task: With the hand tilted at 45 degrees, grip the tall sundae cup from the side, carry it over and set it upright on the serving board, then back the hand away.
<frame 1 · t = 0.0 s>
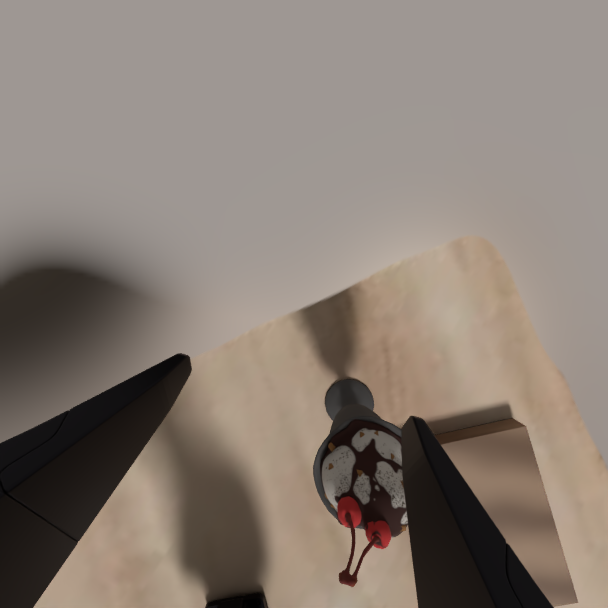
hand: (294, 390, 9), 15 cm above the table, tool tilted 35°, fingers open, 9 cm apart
sundae: (348, 402, 24), on the table
board: (473, 511, 23), on the table
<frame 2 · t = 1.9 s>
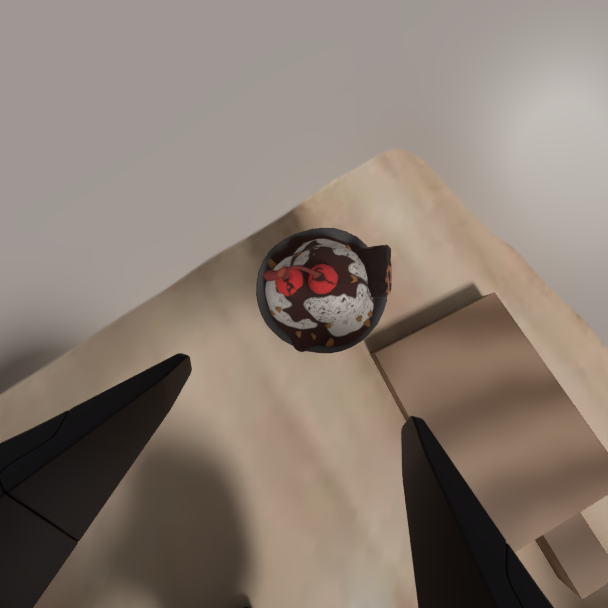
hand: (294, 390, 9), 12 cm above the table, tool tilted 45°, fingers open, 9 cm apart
sundae: (315, 319, 22), on the table
board: (479, 408, 19), on the table
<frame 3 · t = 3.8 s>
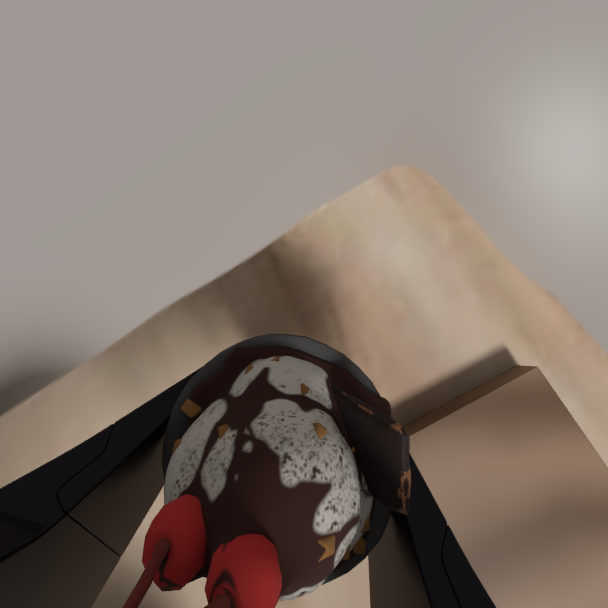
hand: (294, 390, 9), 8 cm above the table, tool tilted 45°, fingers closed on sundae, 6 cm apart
sundae: (296, 394, 16), on the table, touching gripper
board: (517, 529, 14), on the table
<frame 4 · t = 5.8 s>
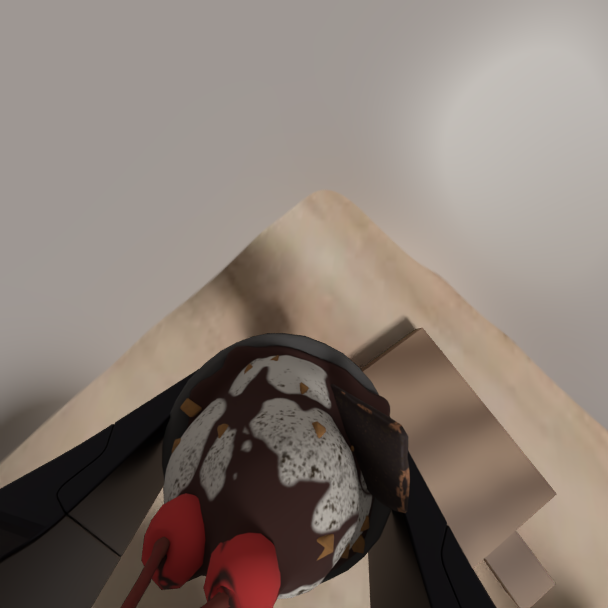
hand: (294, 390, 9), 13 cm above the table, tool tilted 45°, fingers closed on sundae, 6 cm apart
sundae: (296, 393, 16), point 5 cm above the table, touching gripper
board: (421, 441, 20), on the table
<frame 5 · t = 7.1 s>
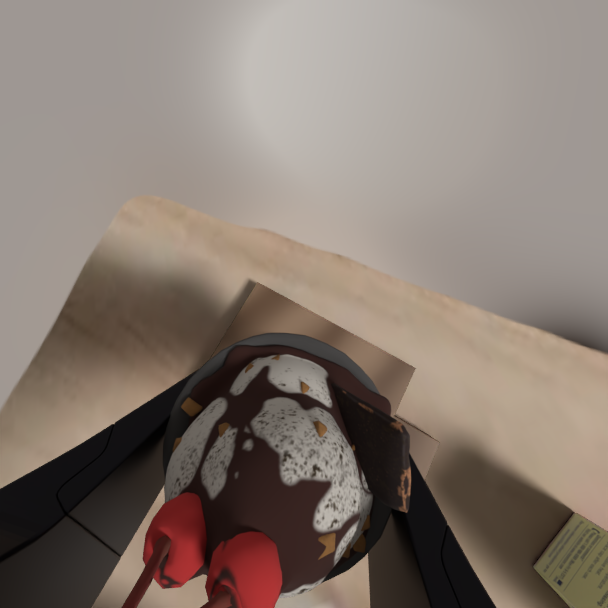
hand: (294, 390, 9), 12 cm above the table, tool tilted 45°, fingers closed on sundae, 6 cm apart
box: (606, 593, 18), on the table
sundae: (297, 392, 16), point 5 cm above the table, touching gripper
board: (300, 381, 21), on the table
when the fingers open (10 cm above the table, at t = 8.1 s): sundae stays where it is, resting on board.
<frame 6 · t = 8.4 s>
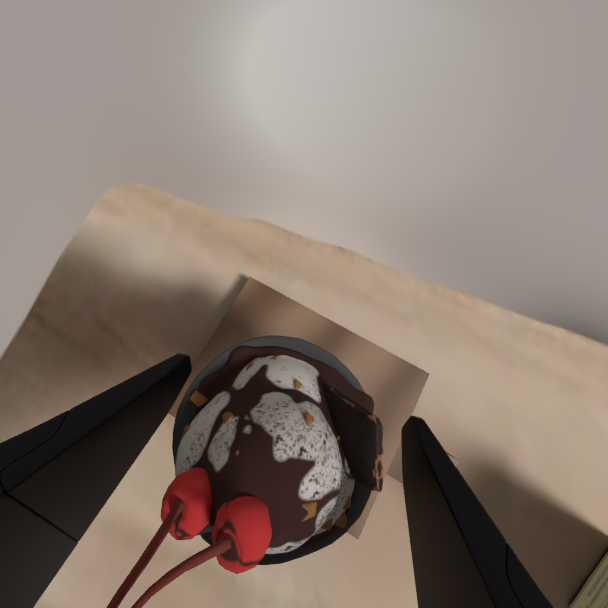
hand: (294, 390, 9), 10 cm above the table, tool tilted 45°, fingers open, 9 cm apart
sundae: (294, 391, 17), point 1 cm above the table, touching board
board: (298, 389, 19), on the table
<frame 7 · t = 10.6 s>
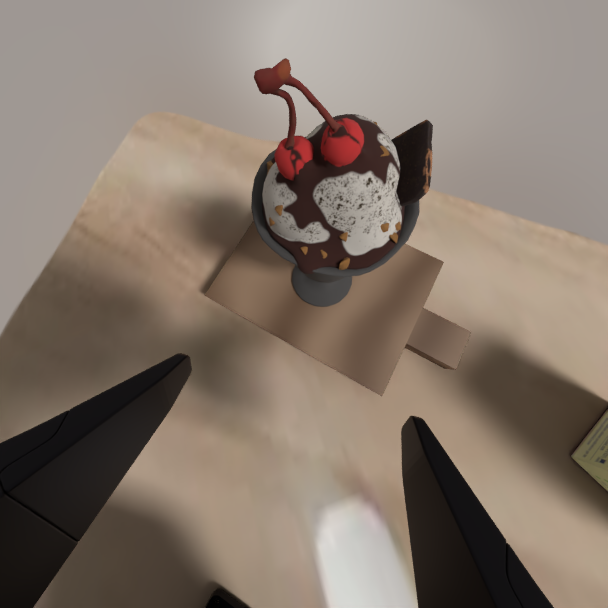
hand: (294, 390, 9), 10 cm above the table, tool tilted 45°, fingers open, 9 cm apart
sundae: (321, 279, 19), point 1 cm above the table, touching board
board: (323, 284, 20), on the table
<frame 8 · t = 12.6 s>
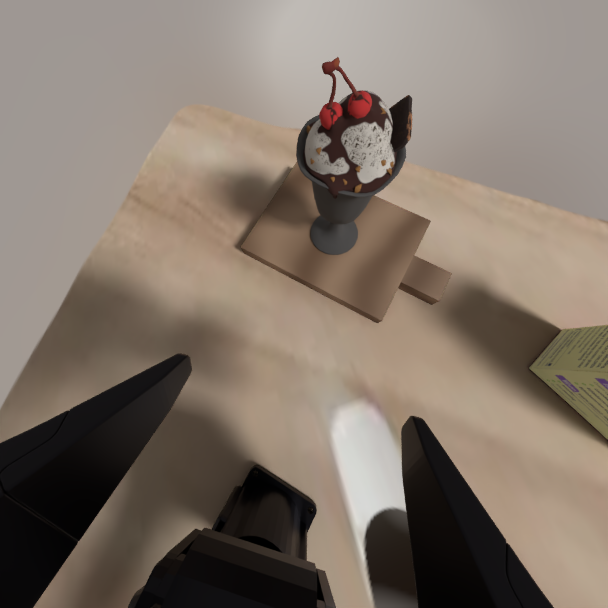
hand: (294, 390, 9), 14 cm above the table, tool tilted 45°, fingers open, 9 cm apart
box: (588, 388, 22), on the table
sundae: (333, 234, 24), point 1 cm above the table, touching board
board: (334, 241, 25), on the table
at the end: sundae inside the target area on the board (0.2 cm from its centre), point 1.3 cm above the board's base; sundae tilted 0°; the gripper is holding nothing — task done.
